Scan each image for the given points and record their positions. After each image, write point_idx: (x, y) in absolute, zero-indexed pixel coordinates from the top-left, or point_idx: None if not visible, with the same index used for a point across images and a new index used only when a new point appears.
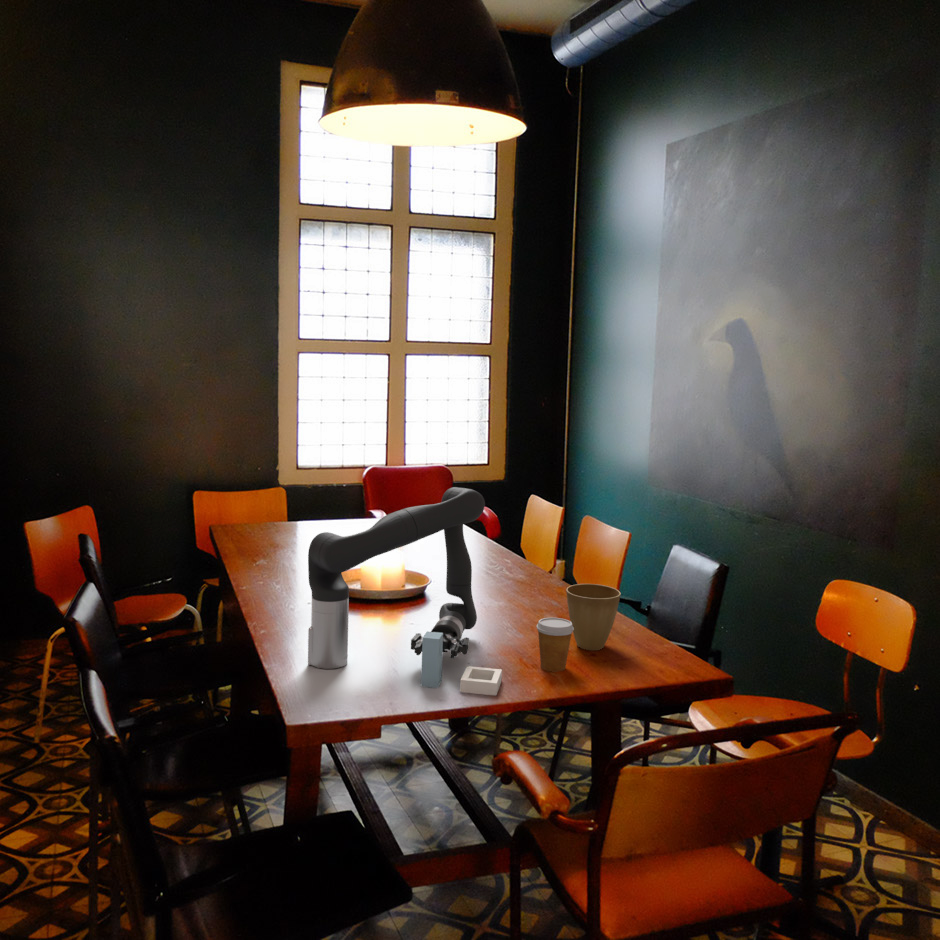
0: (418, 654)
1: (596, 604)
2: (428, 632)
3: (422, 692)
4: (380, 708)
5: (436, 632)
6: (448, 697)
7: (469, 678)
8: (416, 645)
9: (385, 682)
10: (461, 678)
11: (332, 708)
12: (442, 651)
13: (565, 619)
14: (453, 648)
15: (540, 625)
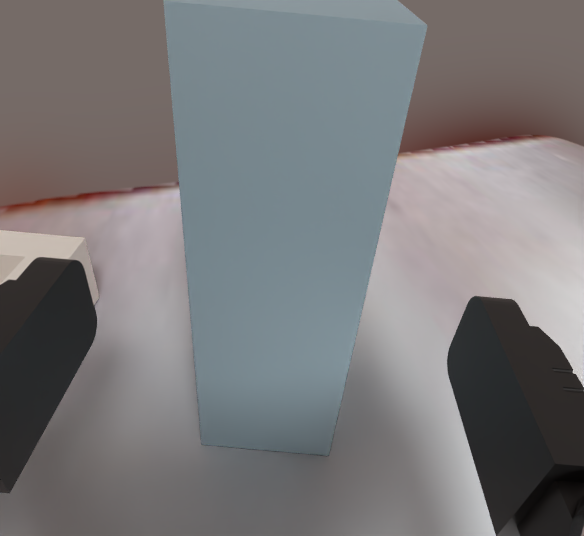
0: (454, 352)
1: None
2: (387, 16)
3: None
4: (409, 183)
5: (271, 8)
6: (171, 250)
7: (16, 253)
8: (578, 400)
9: None
10: (73, 250)
11: (543, 180)
12: (185, 249)
13: None
14: (22, 289)
15: None
